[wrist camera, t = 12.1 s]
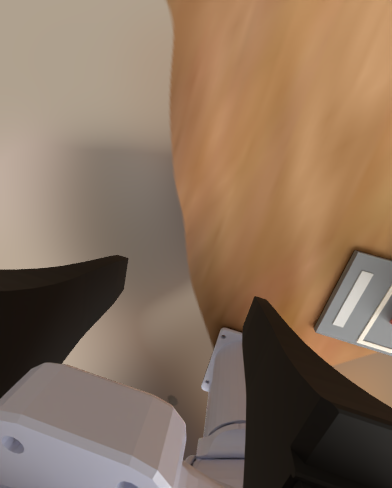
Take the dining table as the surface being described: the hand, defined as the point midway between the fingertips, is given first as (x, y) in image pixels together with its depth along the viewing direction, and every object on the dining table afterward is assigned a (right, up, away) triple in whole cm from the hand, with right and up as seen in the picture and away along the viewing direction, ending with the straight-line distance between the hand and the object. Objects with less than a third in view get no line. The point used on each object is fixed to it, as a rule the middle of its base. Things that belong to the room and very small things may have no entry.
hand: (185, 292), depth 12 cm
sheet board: (+21, -4, +9) cm, 23 cm away
